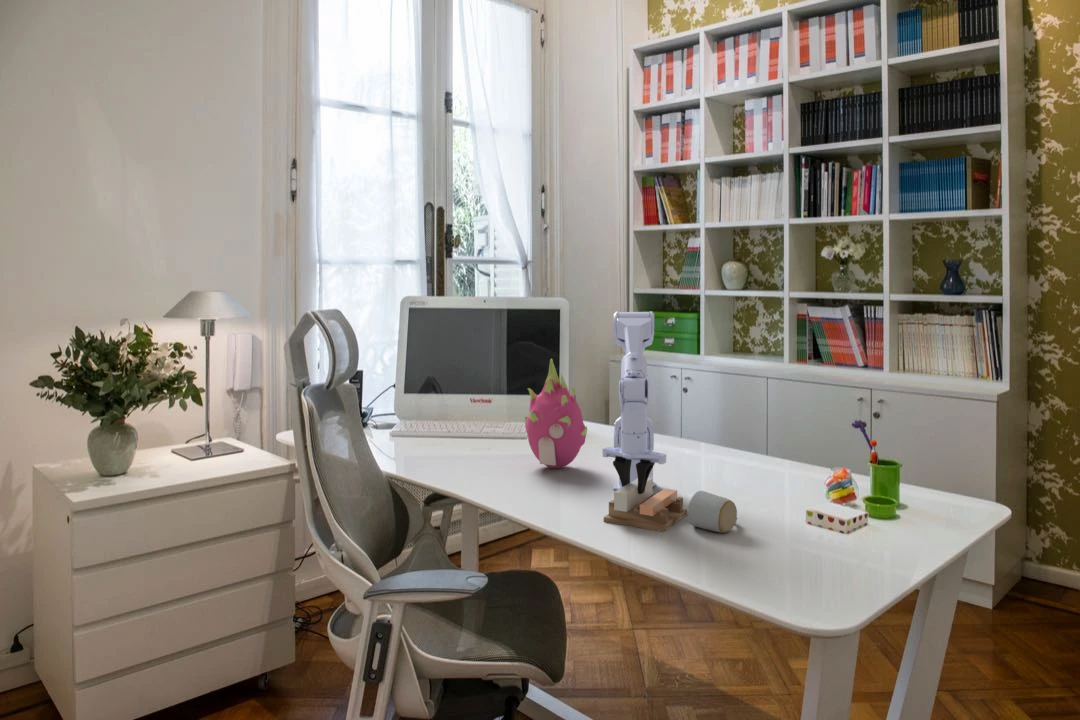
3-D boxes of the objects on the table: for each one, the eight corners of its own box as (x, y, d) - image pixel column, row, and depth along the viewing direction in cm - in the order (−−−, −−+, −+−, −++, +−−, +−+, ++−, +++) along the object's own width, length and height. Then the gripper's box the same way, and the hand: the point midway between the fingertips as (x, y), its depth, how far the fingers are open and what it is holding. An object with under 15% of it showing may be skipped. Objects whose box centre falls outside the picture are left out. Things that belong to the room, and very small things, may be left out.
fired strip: (664, 497, 184) (664, 488, 184) (677, 498, 183) (677, 490, 183) (639, 513, 172) (639, 504, 172) (652, 516, 171) (652, 506, 171)
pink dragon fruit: (516, 471, 220) (514, 361, 216) (532, 460, 232) (531, 356, 229) (579, 476, 214) (579, 363, 210) (593, 464, 227) (592, 357, 223)
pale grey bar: (640, 493, 187) (640, 476, 187) (652, 495, 186) (652, 478, 185) (614, 509, 175) (614, 491, 175) (626, 511, 174) (626, 493, 173)
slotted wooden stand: (630, 504, 189) (630, 487, 189) (687, 513, 182) (687, 496, 181) (603, 521, 177) (603, 503, 177) (663, 531, 170) (663, 513, 170)
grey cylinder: (720, 538, 166) (721, 501, 165) (686, 529, 171) (687, 494, 170) (746, 526, 174) (747, 491, 173) (712, 518, 179) (713, 484, 178)
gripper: (596, 431, 179) (596, 491, 181) (657, 438, 172) (657, 500, 173) (610, 426, 185) (610, 484, 187) (670, 432, 178) (669, 492, 179)
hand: (633, 491), depth 180 cm, fingers closed on pale grey bar, 3 cm apart
